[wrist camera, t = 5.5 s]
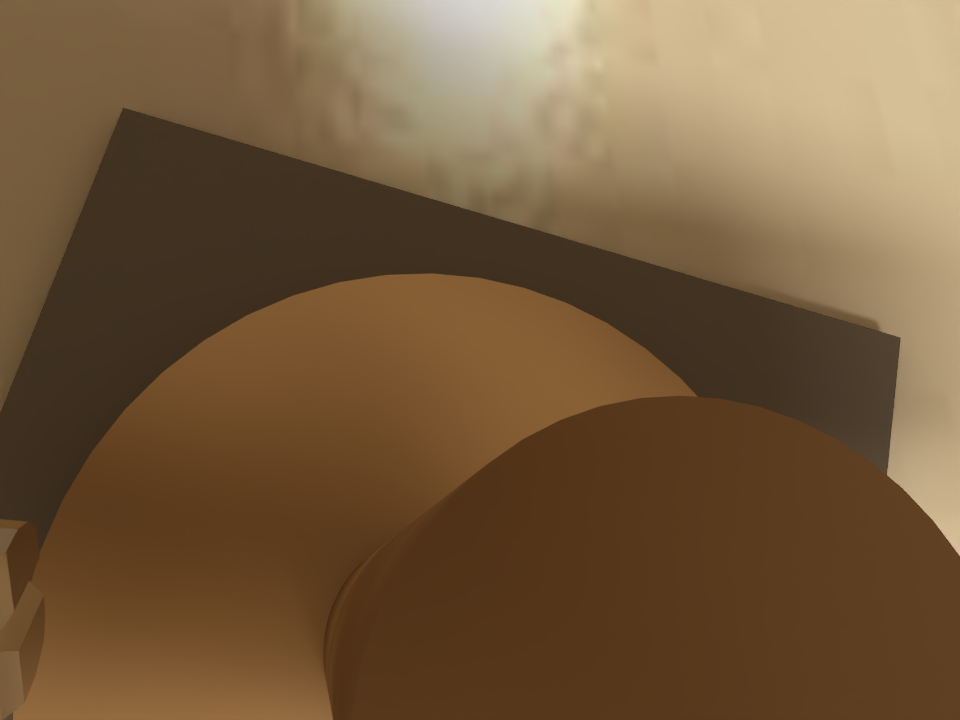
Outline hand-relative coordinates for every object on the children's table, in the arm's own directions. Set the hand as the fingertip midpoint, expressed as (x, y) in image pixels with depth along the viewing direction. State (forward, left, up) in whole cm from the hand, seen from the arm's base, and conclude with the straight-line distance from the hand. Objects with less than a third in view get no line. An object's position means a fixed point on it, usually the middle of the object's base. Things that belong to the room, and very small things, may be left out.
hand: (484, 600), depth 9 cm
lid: (-1, 0, -5) cm, 5 cm away
